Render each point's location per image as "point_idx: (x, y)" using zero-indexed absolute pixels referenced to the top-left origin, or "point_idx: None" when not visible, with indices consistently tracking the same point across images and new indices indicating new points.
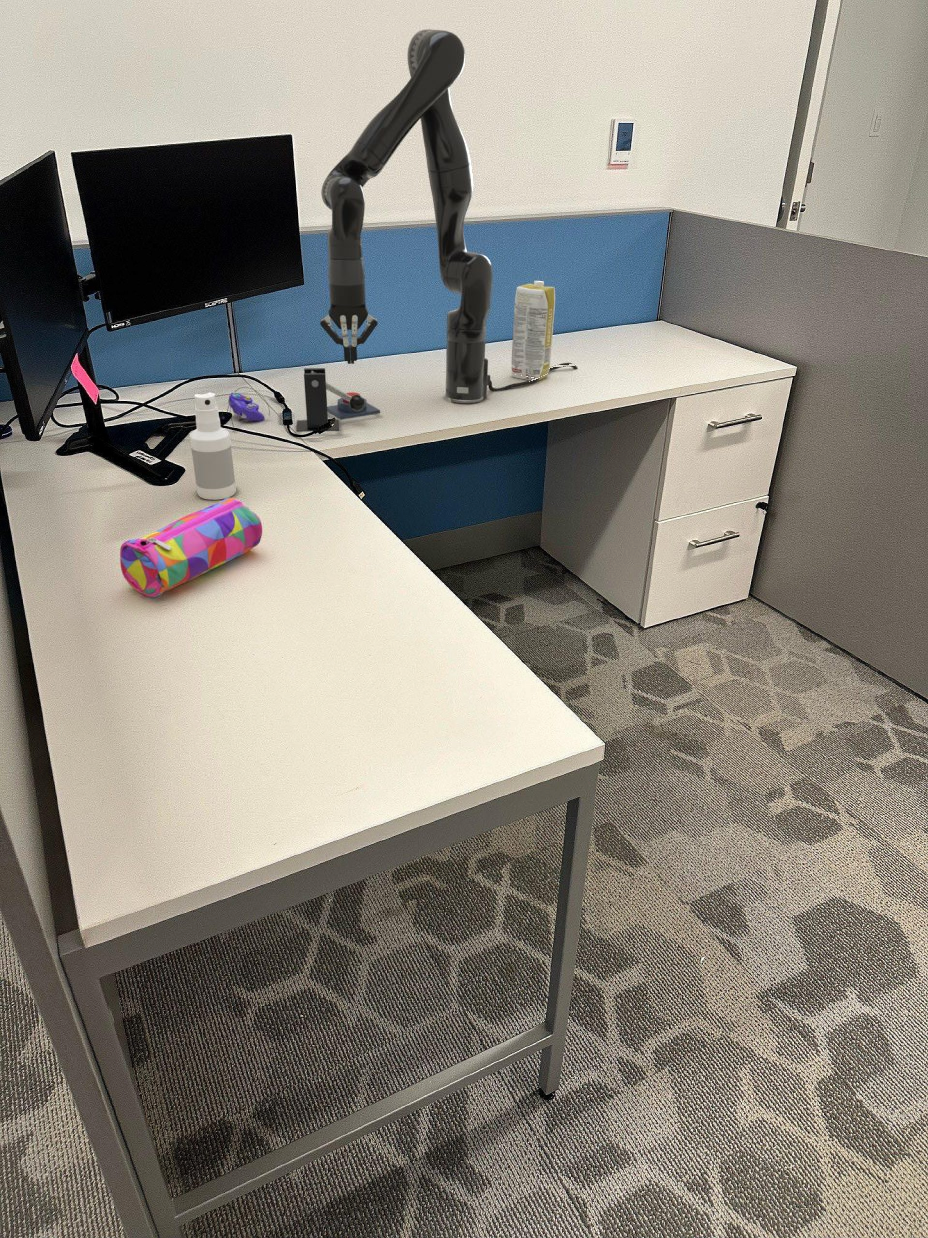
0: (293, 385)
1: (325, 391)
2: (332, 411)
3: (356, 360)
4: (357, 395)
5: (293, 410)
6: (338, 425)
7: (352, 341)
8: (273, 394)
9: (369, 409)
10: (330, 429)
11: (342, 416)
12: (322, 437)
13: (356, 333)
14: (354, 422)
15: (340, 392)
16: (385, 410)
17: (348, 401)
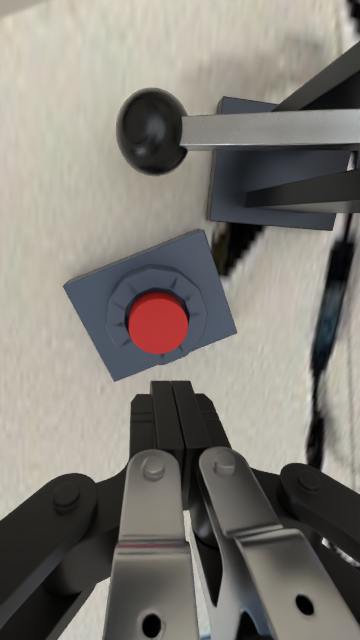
0: None
1: (344, 56)
2: (221, 286)
3: (136, 396)
4: (152, 116)
5: (304, 361)
6: (218, 151)
7: (169, 485)
8: (322, 472)
9: (100, 294)
10: (251, 105)
11: (196, 232)
12: (274, 89)
13: (122, 570)
14: (154, 238)
15: (245, 115)
16: (50, 344)
17: (172, 297)
